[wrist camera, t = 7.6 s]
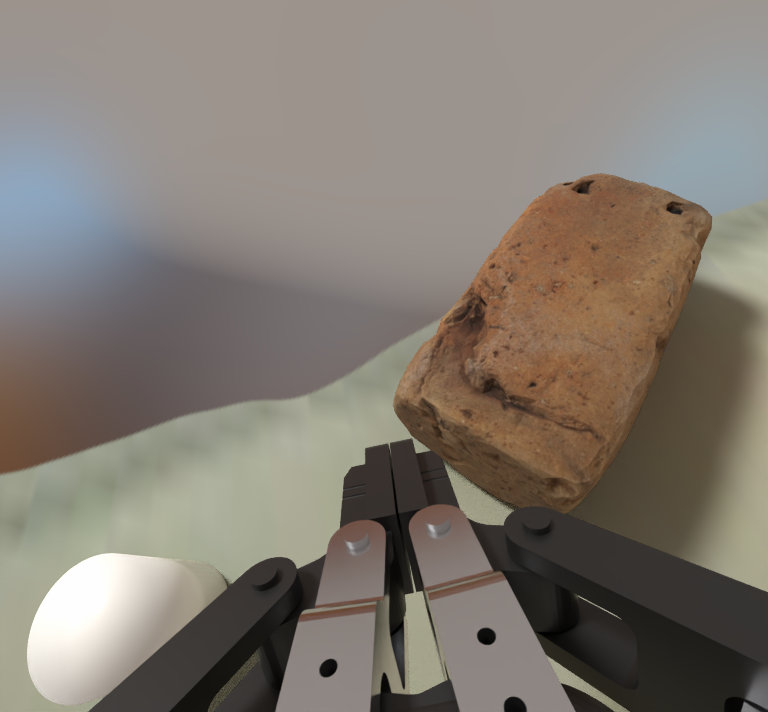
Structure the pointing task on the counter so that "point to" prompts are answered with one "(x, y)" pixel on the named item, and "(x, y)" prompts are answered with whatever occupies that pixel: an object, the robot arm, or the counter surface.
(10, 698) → the counter surface
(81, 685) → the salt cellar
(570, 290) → the block
